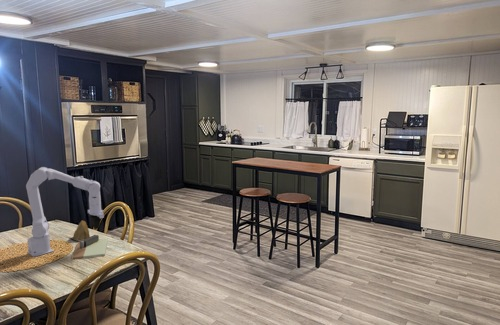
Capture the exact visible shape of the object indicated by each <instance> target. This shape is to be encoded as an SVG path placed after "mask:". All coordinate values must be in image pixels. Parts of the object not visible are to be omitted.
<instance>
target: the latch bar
mask: <svg viewBox="0 0 500 325" xmlns="http://www.w3.org/2000/svg"><path fill="white" fill-rule="evenodd" d="M99 240H100V239H99V234H93V235H92V236H90V237H89V238H86V239H84V240H81V241H84V246H88V245H90V244H92V243H95V242H97V241H99Z"/></svg>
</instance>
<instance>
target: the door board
mask: <svg viewBox="0 0 500 325" xmlns="http://www.w3.org/2000/svg"><path fill="white" fill-rule="evenodd" d="M108 240H109V239H108V238H103V239H99V241H97V242H95V243H92V244H90V245H88V246H84V241H82V240H81V241H80V240H79V241H78V242H77V245H76V247H75V250H74V252H73V254H72V257H71V259H72V260H79V259H87V258H89V259H90V258H95V257H103V256H106V252H107V246H108Z"/></svg>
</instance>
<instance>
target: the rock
mask: <svg viewBox="0 0 500 325" xmlns="http://www.w3.org/2000/svg"><path fill="white" fill-rule="evenodd" d="M90 235H91V234H90V231H89V227H88V225H87V222H86V221H85V220H80V222H79V223H78V225H77V227H76V229H75V231H74V233H73V235H72V236H73V237H72V238H74V239H76V240H81V241H82V240H84V239H86V238H89V237H91V236H90Z"/></svg>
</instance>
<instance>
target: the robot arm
mask: <svg viewBox="0 0 500 325" xmlns="http://www.w3.org/2000/svg"><path fill="white" fill-rule="evenodd" d="M47 179H48V180H47ZM55 179H56V180H58V181H59V180H60V181H62V182H66V183H69V184H71V185H72V186H73V187H75V188H77V189H81V190H84V191H87V192H88V206H89V209H87V214H89V216H88V218H89V219H90V221H91V223H92V227H93V229H94V230H97V229H99V228H100V225H101V224H100V223H101V221H102V219H103V218H105V215H104V210H103V209H102V201H101V200H102V199H101V184H100V182H98V181H96V180H93V179H87V178H84V176H83V175H79V176H75V177H74V176H72V175H69V174H66V173H64V172H61V171H58V170H56V169H53V168H48V167H46V166H41V167H39V168H38V169H36V170H34V172H32V173H31V174H30V176H29V179H28V181H27V183H26V185H25V188H26V192H27V198H28V202H29V207H30V212H31V216H32V228H31V234H32V237H29V238H28V239H27V248H28V249H27V253H28V254H29V255H30V256H32V257H33V258H35V257H39V256H42V255H45V254H49V253H53V252H54V249H52V248H51V239H50V232H49V231H48V230H49V229H50V224H49V222H48V221H47V218H46V216H45V214H44V208H43V205H42V200H41V199H42V198H41V194H40V188H39V186H40V185H41V184H42V183H43V182H45V181H46V180H47V181H50V180H55Z"/></svg>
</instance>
